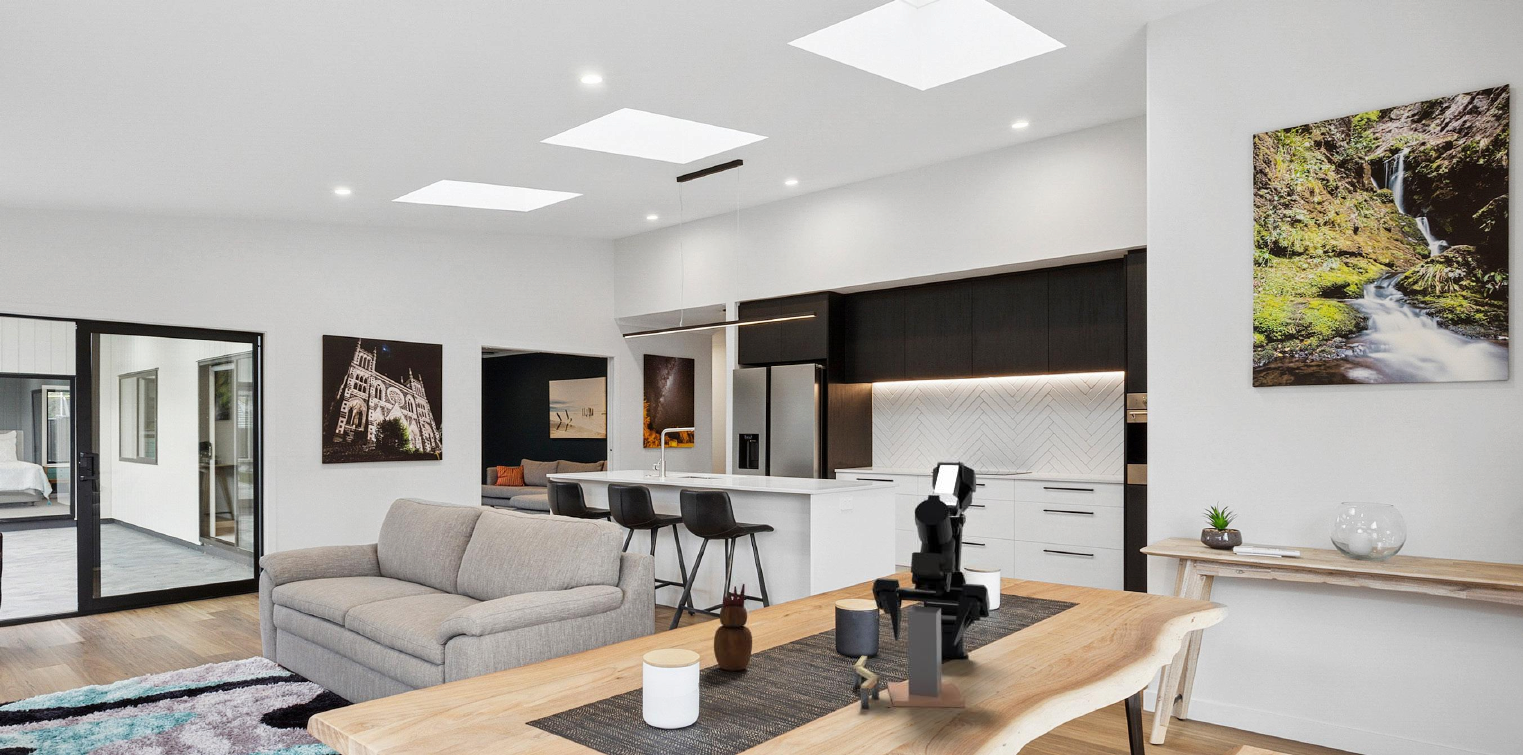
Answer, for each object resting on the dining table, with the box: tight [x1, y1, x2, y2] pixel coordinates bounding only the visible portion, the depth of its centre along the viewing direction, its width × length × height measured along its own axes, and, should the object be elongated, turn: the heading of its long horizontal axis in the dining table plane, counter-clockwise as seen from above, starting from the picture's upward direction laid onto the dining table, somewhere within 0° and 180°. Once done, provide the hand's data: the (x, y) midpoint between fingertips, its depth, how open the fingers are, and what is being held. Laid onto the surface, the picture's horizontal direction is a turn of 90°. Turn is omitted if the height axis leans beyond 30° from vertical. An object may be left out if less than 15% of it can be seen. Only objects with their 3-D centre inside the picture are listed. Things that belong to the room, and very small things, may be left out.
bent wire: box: [853, 655, 880, 710], centre depth 146 cm, size 18×4×3 cm, turn 177°
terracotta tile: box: [887, 681, 966, 708], centre depth 143 cm, size 10×11×1 cm
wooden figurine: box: [713, 583, 753, 672], centre depth 160 cm, size 7×6×15 cm
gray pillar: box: [907, 605, 943, 697], centre depth 144 cm, size 4×4×13 cm
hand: (924, 641), depth 144 cm, fingers open, 9 cm apart
